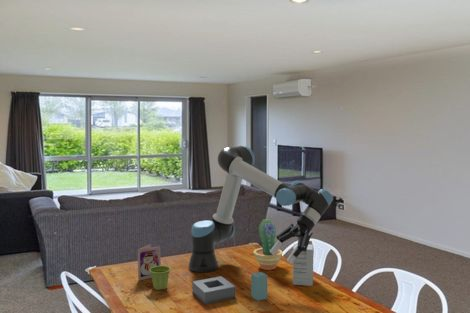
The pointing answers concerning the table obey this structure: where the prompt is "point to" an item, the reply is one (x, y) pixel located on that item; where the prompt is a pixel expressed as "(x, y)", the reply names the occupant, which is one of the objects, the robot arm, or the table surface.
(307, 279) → the supplement box
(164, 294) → the table surface
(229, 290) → the socket
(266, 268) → the potted cactus
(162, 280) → the plant pot
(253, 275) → the peg
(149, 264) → the greeting card
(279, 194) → the robot arm
